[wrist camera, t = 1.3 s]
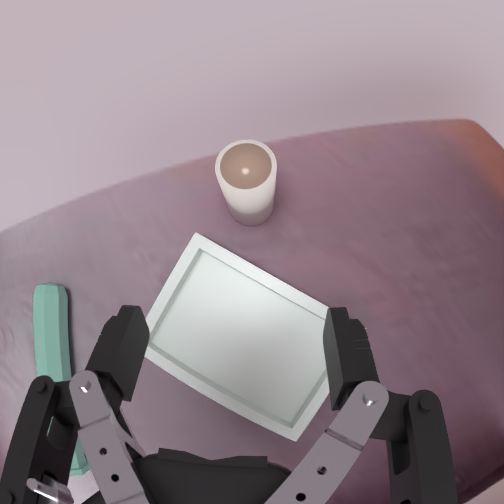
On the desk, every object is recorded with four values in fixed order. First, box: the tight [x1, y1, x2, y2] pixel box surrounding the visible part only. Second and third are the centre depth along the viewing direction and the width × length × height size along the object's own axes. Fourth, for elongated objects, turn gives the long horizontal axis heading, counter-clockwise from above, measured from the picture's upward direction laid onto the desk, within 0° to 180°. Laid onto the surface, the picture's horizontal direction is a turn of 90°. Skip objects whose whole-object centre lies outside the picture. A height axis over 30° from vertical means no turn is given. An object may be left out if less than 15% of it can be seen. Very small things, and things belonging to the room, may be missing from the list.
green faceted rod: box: [33, 282, 90, 476], centre depth 29 cm, size 6×6×25 cm
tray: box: [145, 232, 366, 442], centre depth 30 cm, size 20×14×2 cm
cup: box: [215, 140, 277, 226], centre depth 29 cm, size 5×5×10 cm
